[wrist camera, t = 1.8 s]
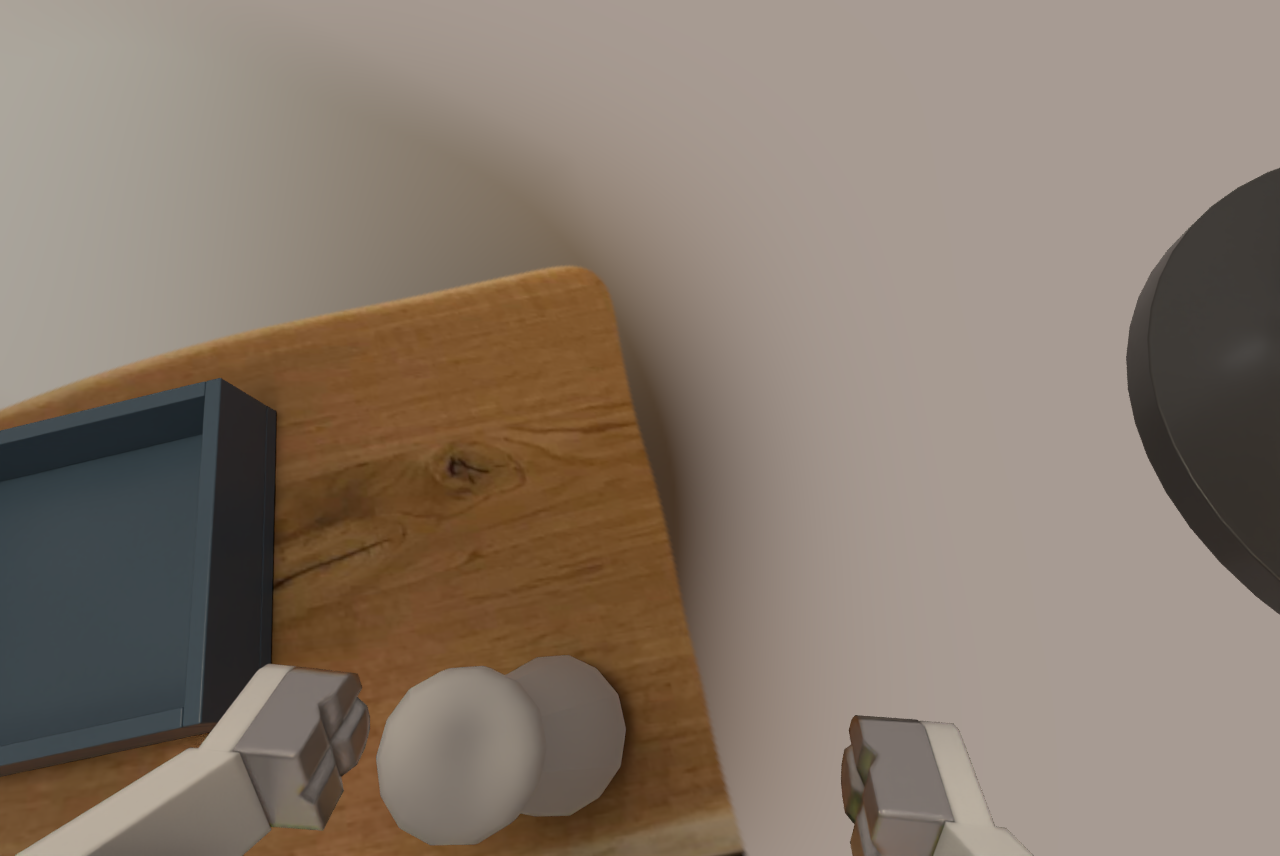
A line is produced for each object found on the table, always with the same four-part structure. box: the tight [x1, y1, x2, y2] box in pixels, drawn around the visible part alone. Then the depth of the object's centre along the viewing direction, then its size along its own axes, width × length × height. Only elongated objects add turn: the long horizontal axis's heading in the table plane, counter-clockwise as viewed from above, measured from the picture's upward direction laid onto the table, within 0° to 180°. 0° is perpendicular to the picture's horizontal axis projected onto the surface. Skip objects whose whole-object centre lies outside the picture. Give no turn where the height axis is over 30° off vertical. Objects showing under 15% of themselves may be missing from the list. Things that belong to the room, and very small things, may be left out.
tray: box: [0, 378, 276, 777], centre depth 32 cm, size 20×16×4 cm
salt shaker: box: [376, 655, 626, 845], centre depth 23 cm, size 6×6×13 cm
